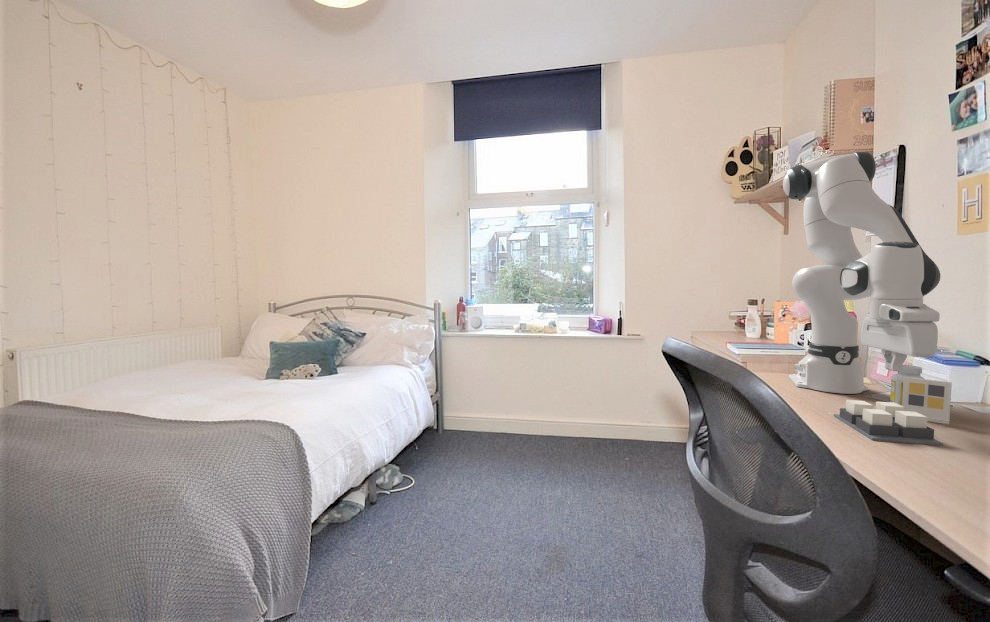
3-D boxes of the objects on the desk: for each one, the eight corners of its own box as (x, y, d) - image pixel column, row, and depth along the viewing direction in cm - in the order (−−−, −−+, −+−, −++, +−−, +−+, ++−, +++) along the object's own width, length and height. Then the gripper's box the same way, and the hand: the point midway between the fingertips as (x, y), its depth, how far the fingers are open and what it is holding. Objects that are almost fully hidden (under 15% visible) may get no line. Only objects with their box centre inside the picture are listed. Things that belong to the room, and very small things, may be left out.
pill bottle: (932, 414, 102) (935, 369, 101) (902, 413, 103) (904, 368, 103) (911, 406, 108) (913, 364, 108) (883, 405, 110) (885, 363, 109)
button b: (894, 423, 91) (895, 410, 91) (914, 424, 90) (915, 411, 90) (905, 429, 87) (906, 415, 87) (926, 430, 86) (927, 417, 86)
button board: (833, 416, 102) (834, 405, 102) (891, 419, 99) (892, 409, 99) (872, 440, 87) (872, 427, 87) (942, 445, 84) (943, 433, 83)
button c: (845, 411, 99) (846, 399, 99) (863, 412, 98) (863, 400, 98) (853, 416, 96) (854, 404, 95) (872, 417, 95) (873, 405, 94)
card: (901, 415, 102) (903, 376, 101) (948, 422, 96) (951, 381, 95) (901, 416, 101) (903, 377, 100) (949, 424, 95) (951, 383, 94)
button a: (875, 413, 97) (876, 401, 97) (893, 414, 96) (894, 402, 96) (884, 418, 94) (885, 405, 94) (904, 419, 93) (904, 407, 93)
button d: (862, 421, 92) (862, 408, 92) (881, 422, 91) (882, 409, 91) (871, 426, 89) (872, 413, 89) (891, 428, 88) (892, 414, 88)
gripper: (853, 309, 104) (852, 362, 105) (908, 314, 85) (906, 378, 85) (883, 309, 102) (881, 362, 103) (946, 313, 83) (944, 380, 83)
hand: (893, 370), depth 94 cm, fingers closed
